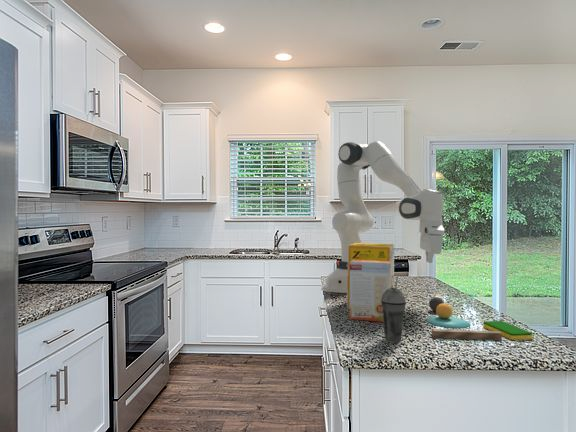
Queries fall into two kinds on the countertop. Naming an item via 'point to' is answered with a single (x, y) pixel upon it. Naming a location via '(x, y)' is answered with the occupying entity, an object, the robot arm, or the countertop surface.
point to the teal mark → (448, 322)
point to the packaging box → (370, 258)
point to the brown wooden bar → (466, 334)
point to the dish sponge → (507, 330)
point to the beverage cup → (393, 313)
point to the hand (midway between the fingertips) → (429, 262)
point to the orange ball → (444, 311)
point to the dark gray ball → (435, 303)
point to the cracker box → (368, 288)
